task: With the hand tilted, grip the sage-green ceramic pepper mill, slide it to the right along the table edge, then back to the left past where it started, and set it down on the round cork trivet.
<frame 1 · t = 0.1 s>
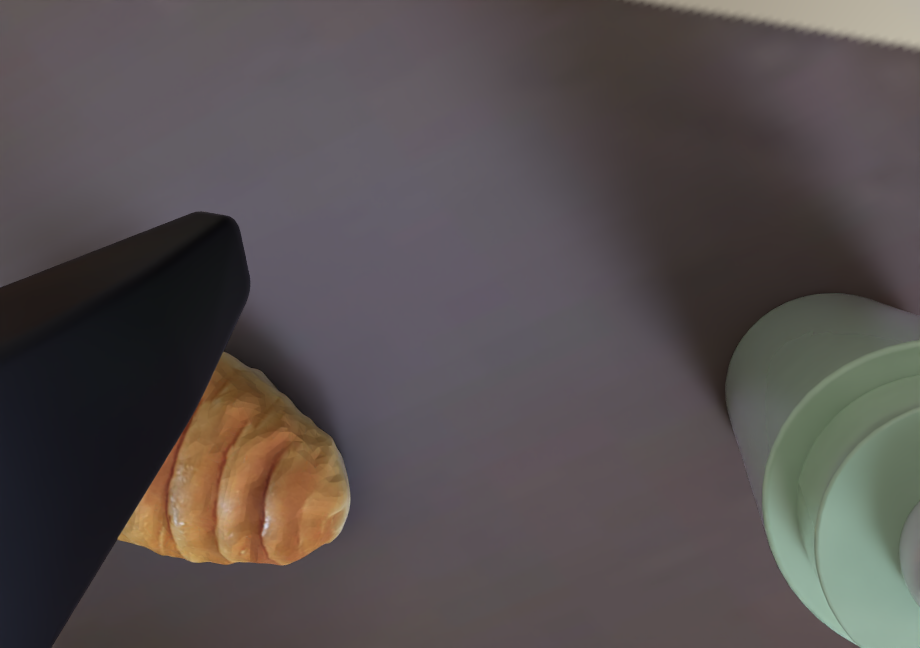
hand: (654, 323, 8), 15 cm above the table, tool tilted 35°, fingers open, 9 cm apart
pepper mill: (829, 391, 22), on the table
pastry: (211, 431, 27), on the table
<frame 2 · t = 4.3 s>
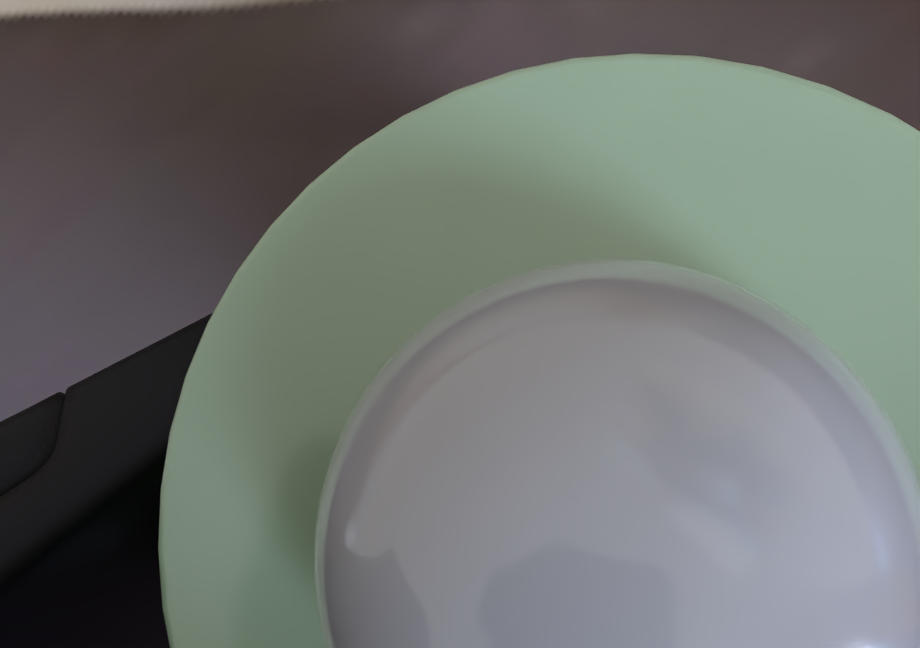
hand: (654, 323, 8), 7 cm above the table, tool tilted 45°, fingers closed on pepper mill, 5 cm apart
pepper mill: (630, 441, 14), on the table, touching gripper
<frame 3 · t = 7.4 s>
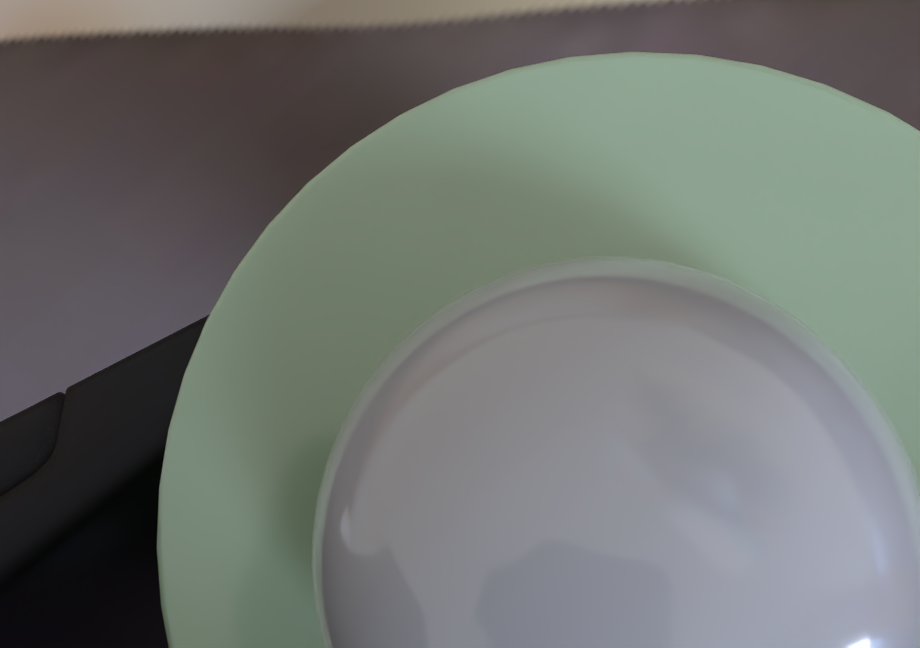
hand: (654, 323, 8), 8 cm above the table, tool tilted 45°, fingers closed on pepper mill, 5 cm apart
pepper mill: (630, 440, 14), point 1 cm above the table, touching gripper
when the fingers open (7 cm above the table, at t = 10.4 s): pepper mill stays where it is, resting on cork trivet.
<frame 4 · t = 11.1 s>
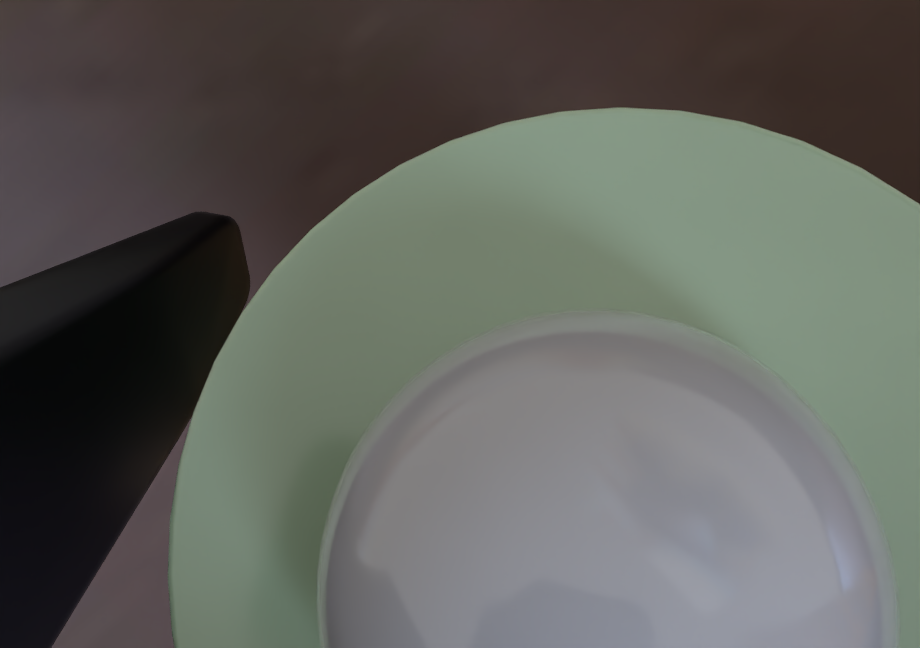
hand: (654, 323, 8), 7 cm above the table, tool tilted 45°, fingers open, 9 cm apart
pepper mill: (627, 450, 15), resting on cork trivet
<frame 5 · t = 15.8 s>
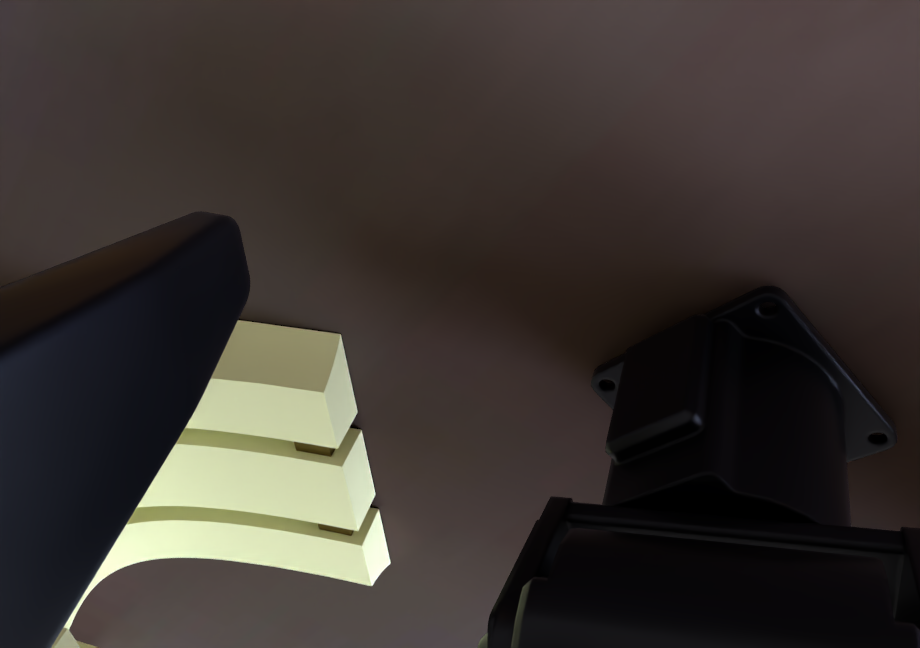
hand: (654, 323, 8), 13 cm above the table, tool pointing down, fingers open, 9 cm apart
slatted curved stool: (194, 427, 35), on the table
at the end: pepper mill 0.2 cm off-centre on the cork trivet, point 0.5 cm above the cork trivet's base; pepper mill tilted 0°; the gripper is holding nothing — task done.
